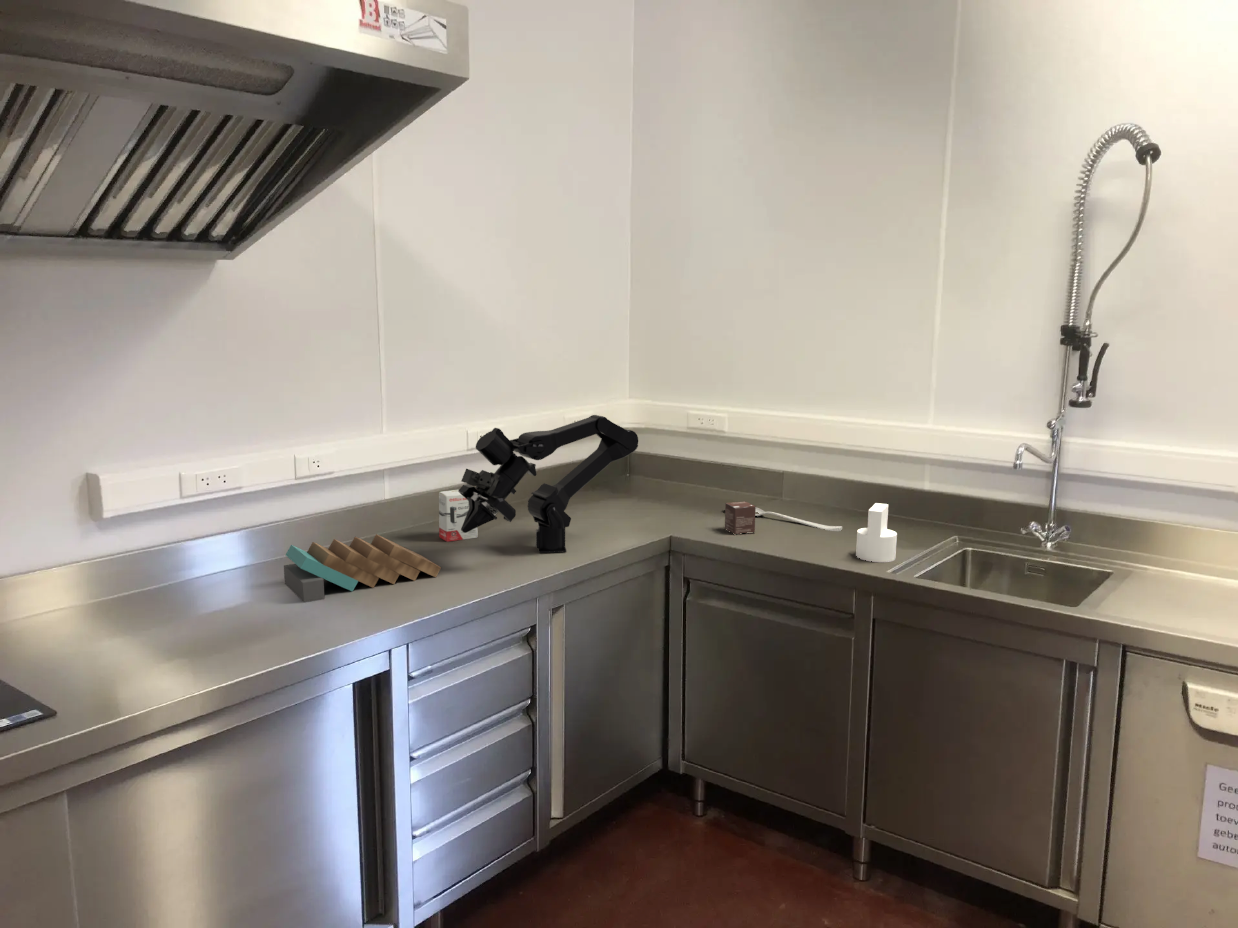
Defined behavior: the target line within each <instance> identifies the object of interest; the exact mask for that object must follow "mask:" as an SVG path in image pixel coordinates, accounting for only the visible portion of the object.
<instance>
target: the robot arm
mask: <svg viewBox="0 0 1238 928" xmlns="http://www.w3.org/2000/svg"><path fill="white" fill-rule="evenodd" d="M594 435H595V436H598V438H600V442H599V445H598V447H597V448H596V449H595V450H594V451H593V452H592V453H591V454H590V455H588V457H586V458H585V459H584V460H582V461H581V462H580V463H579V464H578V465H577V466H576V467H574V468H573V469H572V470H571V471H570V472H569V473H568V474H566V475H565V476H564V477H563V478H561V479H560V480H559V481H558V482H557V483H555V484H553V485H551V484H549V483H548V484H547V483H545V482H544V483H542V484H541V485H539V487H538V489H537V490H535V491H532V492H531V493H530V494H531V496H530V497H529V498H528V500H527V511H528V513H529V514H530V515H531V516H532V518H533V521H534V523H537V529H536V530H535V548H536V549H537V550H538V553H539V554H544V553H545V554H547V553H549V554H550V553H567V547H566V528H569V527H570V524H571V521H572V518H571V517H570V515H568V513H566V512H565V511H566V510H567V508H568V504H569V502H570V500H571V498H572V497H574V496H575V495H576V494H577V493H578V492H580V490H582V488H584V487H585V486H586V485H587V484H588V483H589V482H590V481H592V480H593V479H594V478H595V477H596V476H597V475H599V474H600V472H602V471H603V470H604V469H606V468H607V467H608V466H609V465H610V464H611V463H613V462H616V461H619V460H622V459H624V458H626V457H628V456H629V455H631V454H632V453H634V452H636V450H637V449H638V447H639V437H638V434H637V432H636V431H634V430H631V429H626V428H624V427H622V426H620V425H618V424H616V423H614V422H612V421H611V420H610V419H608V417H605V416H602V415H597V414H592V415H589V416H588V417H586V418H584V419H583V418H582V419H579V420H577V421H574V422H571V423H568V424H565V425H563V426H559V427H557V428H553V429H551V430H535V431H528V432H523V433H521V434H520V435H519V436H518V438H513V439H509V438H508V437H507V436H506V435H505V434H504V432H503V431H502V429H500V428H499V427H494V428H493V429H492V430H491V431H488V432H486V433H485V434H484V435H482V436H480V438H479V439H478V440H477V442H476V444H475V449H476V450H477V452H478V453H480V454H481V456H483V457H484V458H485V459H486V460H487V461H488V462H489V464H491V465H492V466H497V465H498V466H499V467H498V468H497V469H496V470H495V471H494V472H488V471H486V470H483V469H482V470H480V471H479V472H477V471H475V470H472V469H470V468H469V469H468V468H465V471H464V473H463V476H462V478H461V481H460V482H462V483H464V484H463V485H462V486H461V487H460V488H459V489H457V490H458V492H459V493H460V494H461V495H462V496H464V497H465V498H466V499H467V500H468V501H469V510H468V513H467V516H466V518H465V520H464V523H463V525H462V528H461V531H462V532H464V533H467V532H469V531H471V530H473V529H475V528H477V527H480V526H483V525H484V524H486V523H489V522H492V521H493V520H496V521H497V519H498V516H497V515H498V513H499V514H501V515H502V516H503V519H504V520H505V521H506V522H509V523H511V522H512V521H513V520H514V519H515V517H516V515H517V513H516V509H515V508H514V507H513V506H512V505H511V504H510V503H509V502H508V501H507V500H506V499H507V498H508V497H509V496H510V494H512V495H515V494H516V493H517V490H516V489H515V488H516V487H517V486H518V484H520V481H522V480H523V478H524V477H525V476H526V474H528V475H530V476H534V477H536V476H537V469H536V466H537V465H536V463H532V462H529V461H528V460H527V459H531V460H534V461H542V460H543V459H546V458H547V457H549V456H550V455H552V454H553V453H555V451H557V450H558V449H559V448H560V447H563V446H566V445H568V444H572V443H574V442H578V441H580V440H584V439H585V438H589V437H592V436H594ZM516 453H518V454H519V455H517V454H516ZM526 458H527V459H526Z"/></svg>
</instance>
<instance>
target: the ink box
mask: <svg viewBox="0 0 1238 928" xmlns="http://www.w3.org/2000/svg"><path fill="white" fill-rule="evenodd" d="M458 490H459V489H453V490H451V489H450V490H444V491H440V492H438V517H439V518H438V530H439V531H438V534H439V536H438V537H439V539H442V540H443V541H445V542H447V543H448V542H455V541H462V540H469V539H476V538H478V533H479V532H478V531H479V529H478V527H477V528H475V529H473V530H471V531H469V532H467V533H464V532H462V531H461V528H462V525H463V523H464V520H465V518H466V516H467V513H468V510H469V501H468V500H467V499H466V498H465V497H464V496H462V495H461V494H460V493H459V492H458Z"/></svg>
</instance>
